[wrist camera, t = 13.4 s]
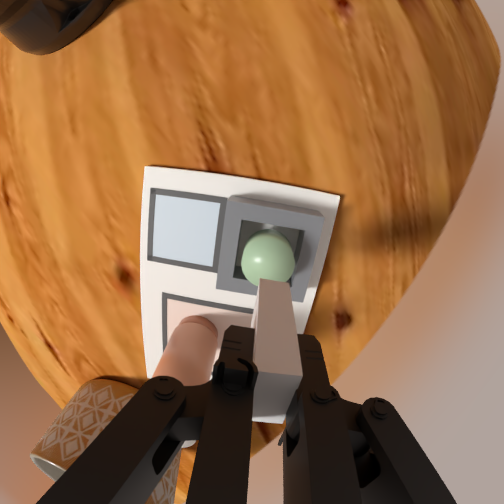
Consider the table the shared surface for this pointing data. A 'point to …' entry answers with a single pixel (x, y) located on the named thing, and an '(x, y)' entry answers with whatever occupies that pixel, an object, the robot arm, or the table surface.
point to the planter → (92, 433)
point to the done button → (267, 257)
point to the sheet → (208, 250)
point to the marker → (190, 354)
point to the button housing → (272, 214)
